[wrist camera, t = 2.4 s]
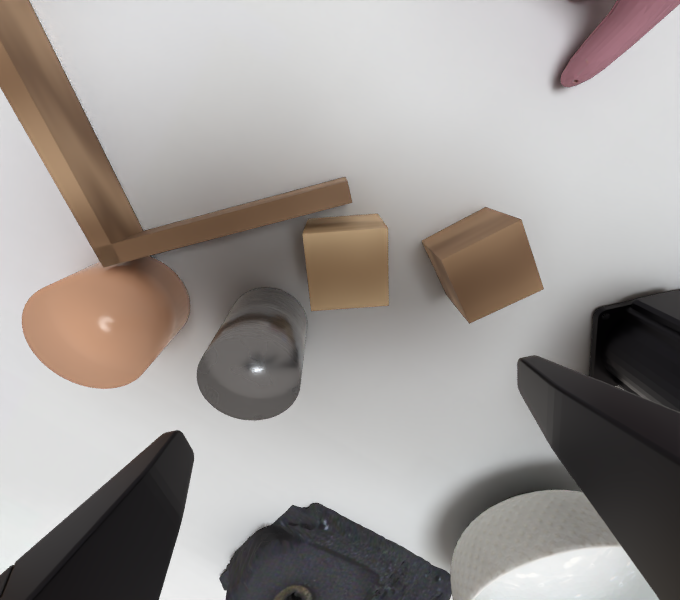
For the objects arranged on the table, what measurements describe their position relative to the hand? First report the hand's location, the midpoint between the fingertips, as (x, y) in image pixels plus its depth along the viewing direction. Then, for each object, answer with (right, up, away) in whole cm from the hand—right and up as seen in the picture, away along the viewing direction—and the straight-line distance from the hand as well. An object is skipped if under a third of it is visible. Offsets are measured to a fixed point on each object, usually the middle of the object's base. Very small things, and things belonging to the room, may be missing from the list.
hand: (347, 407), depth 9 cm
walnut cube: (+7, +6, +11) cm, 15 cm away
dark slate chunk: (0, -25, +26) cm, 36 cm away
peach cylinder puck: (-13, +3, +12) cm, 18 cm away
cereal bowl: (+17, -17, +22) cm, 33 cm away
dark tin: (-5, +1, +13) cm, 14 cm away
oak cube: (0, +6, +11) cm, 13 cm away
